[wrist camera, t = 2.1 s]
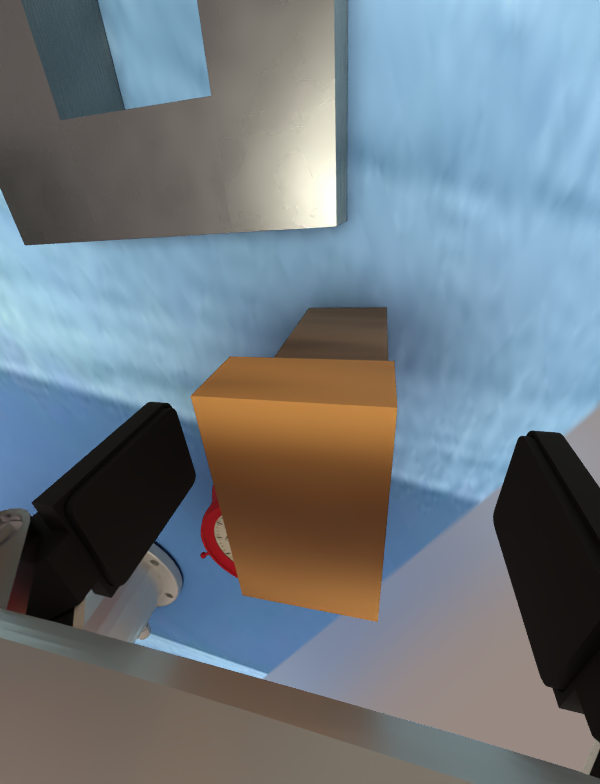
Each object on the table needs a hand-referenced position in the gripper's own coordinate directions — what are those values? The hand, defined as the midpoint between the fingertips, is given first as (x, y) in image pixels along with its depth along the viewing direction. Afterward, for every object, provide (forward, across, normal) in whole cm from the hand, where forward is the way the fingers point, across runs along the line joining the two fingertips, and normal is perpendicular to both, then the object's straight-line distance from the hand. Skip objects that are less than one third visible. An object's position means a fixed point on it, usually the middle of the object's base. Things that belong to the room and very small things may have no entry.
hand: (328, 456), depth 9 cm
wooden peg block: (+10, +1, +1) cm, 10 cm away
